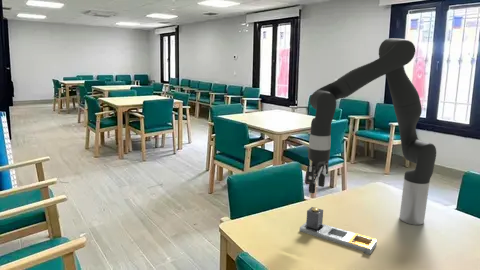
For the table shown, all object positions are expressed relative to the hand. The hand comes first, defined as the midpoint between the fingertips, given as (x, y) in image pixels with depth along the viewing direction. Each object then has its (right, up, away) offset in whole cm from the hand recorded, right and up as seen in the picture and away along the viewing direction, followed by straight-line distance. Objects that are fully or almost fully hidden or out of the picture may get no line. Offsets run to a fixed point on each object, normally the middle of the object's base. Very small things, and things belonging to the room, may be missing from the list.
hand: (316, 189), depth 134 cm
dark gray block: (0, -16, +4) cm, 16 cm away
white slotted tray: (+7, -18, -1) cm, 19 cm away
